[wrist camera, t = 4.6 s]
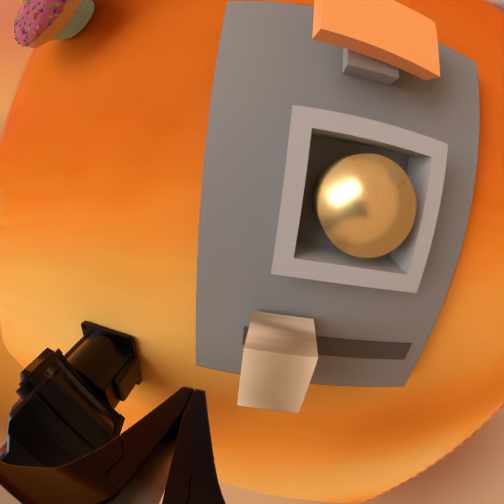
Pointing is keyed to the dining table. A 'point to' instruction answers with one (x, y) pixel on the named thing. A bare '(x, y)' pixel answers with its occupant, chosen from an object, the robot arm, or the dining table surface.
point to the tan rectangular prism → (277, 362)
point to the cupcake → (51, 20)
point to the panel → (302, 185)
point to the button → (365, 204)
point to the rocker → (380, 33)
